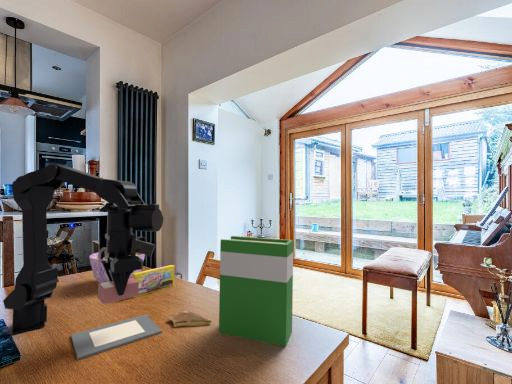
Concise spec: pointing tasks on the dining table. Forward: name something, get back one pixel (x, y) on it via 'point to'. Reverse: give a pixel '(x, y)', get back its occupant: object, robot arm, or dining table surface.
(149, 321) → the mat
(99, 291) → the pink and white block
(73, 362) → the dining table surface
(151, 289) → the candy box
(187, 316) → the shard
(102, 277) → the bowl of food
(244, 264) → the green cereal box
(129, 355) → the dining table surface
